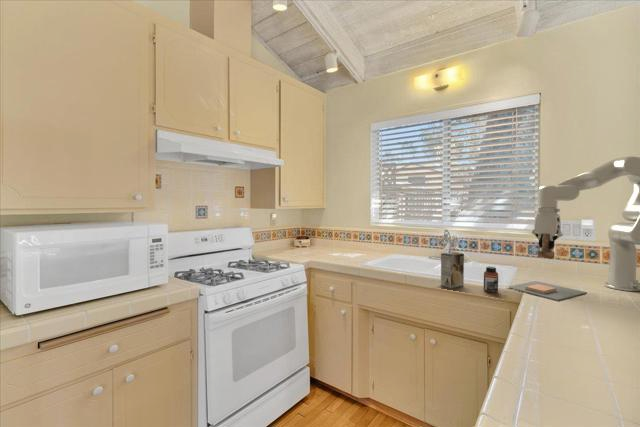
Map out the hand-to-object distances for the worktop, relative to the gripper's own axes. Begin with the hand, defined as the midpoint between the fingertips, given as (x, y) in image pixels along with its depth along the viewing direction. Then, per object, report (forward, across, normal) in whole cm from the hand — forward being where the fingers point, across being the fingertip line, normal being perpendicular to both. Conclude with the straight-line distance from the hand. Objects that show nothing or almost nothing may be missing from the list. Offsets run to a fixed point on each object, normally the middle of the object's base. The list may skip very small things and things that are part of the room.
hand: (546, 247), depth 158 cm
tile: (+18, -5, +13) cm, 22 cm away
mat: (+19, -5, +9) cm, 21 cm away
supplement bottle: (+19, +6, +33) cm, 39 cm away
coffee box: (+19, +21, +41) cm, 50 cm away
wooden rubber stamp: (+5, 0, 0) cm, 5 cm away
